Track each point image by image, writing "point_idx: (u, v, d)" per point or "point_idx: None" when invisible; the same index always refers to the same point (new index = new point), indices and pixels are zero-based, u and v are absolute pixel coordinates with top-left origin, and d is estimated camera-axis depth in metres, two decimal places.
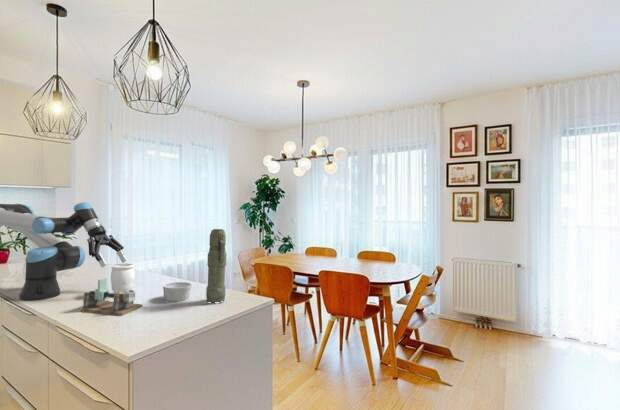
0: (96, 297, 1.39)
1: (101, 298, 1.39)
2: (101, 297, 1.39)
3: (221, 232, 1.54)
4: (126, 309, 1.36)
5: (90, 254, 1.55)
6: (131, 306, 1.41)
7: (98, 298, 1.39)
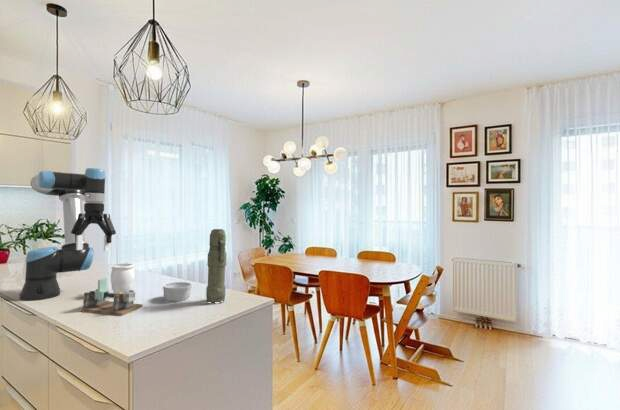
0: (96, 297, 1.39)
1: (101, 298, 1.39)
2: (101, 297, 1.39)
3: (221, 232, 1.54)
4: (126, 309, 1.36)
5: None
6: (131, 306, 1.41)
7: (98, 298, 1.39)
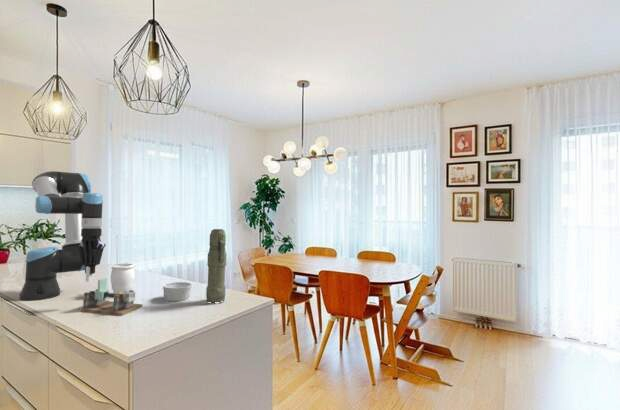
0: (96, 297, 1.39)
1: (101, 298, 1.39)
2: (101, 297, 1.39)
3: (221, 232, 1.54)
4: (126, 309, 1.36)
5: None
6: (131, 306, 1.41)
7: (98, 298, 1.39)
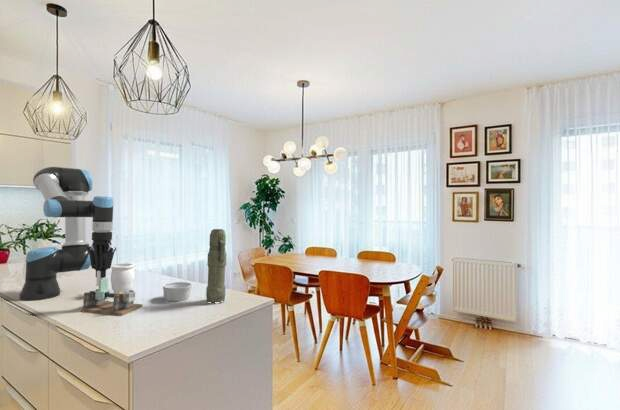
0: (97, 297, 1.39)
1: (102, 298, 1.39)
2: (102, 297, 1.39)
3: (221, 232, 1.54)
4: (126, 309, 1.36)
5: None
6: (131, 306, 1.41)
7: (99, 298, 1.39)
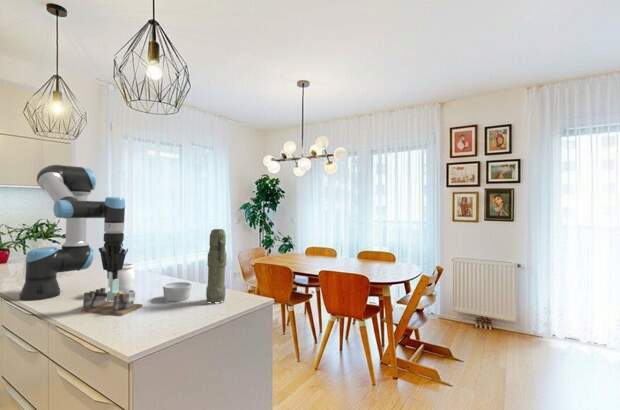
0: (108, 298, 1.38)
1: None
2: None
3: (221, 232, 1.54)
4: (126, 309, 1.36)
5: None
6: (131, 306, 1.41)
7: (110, 299, 1.38)
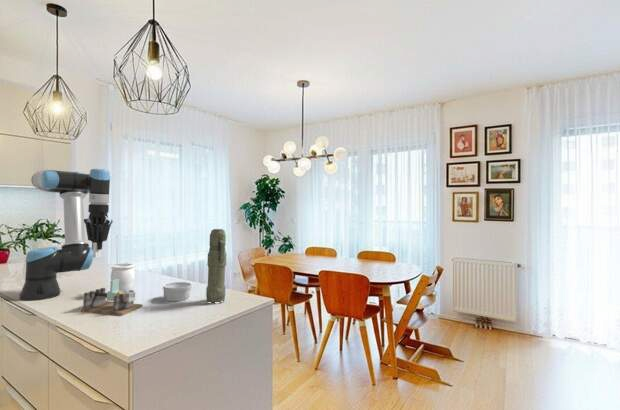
0: (108, 298, 1.38)
1: None
2: None
3: (221, 232, 1.54)
4: (126, 309, 1.36)
5: None
6: (131, 306, 1.41)
7: (111, 299, 1.38)
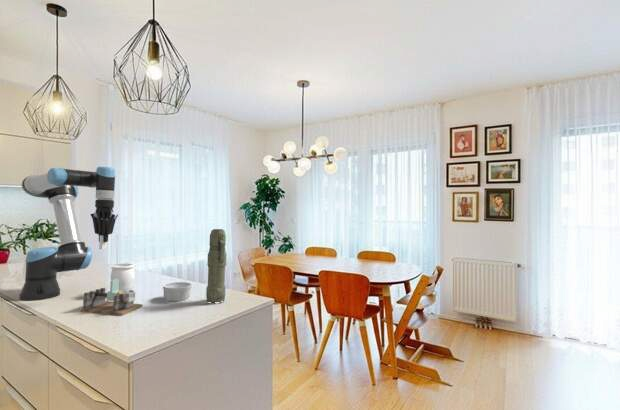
0: (108, 298, 1.38)
1: None
2: None
3: (221, 232, 1.54)
4: (126, 309, 1.36)
5: None
6: (131, 306, 1.41)
7: (111, 299, 1.38)
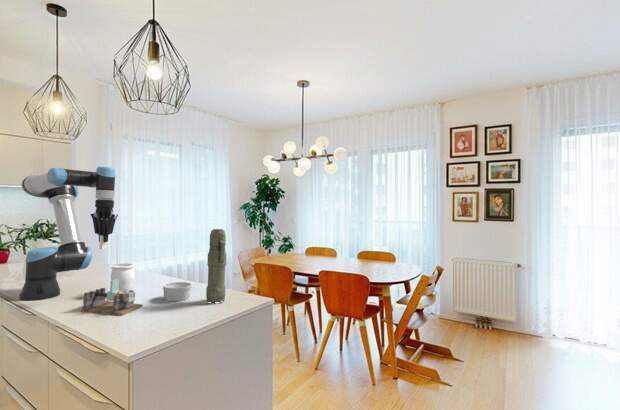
0: (108, 298, 1.38)
1: None
2: None
3: (221, 232, 1.54)
4: (126, 309, 1.36)
5: None
6: (131, 306, 1.41)
7: (111, 299, 1.38)
